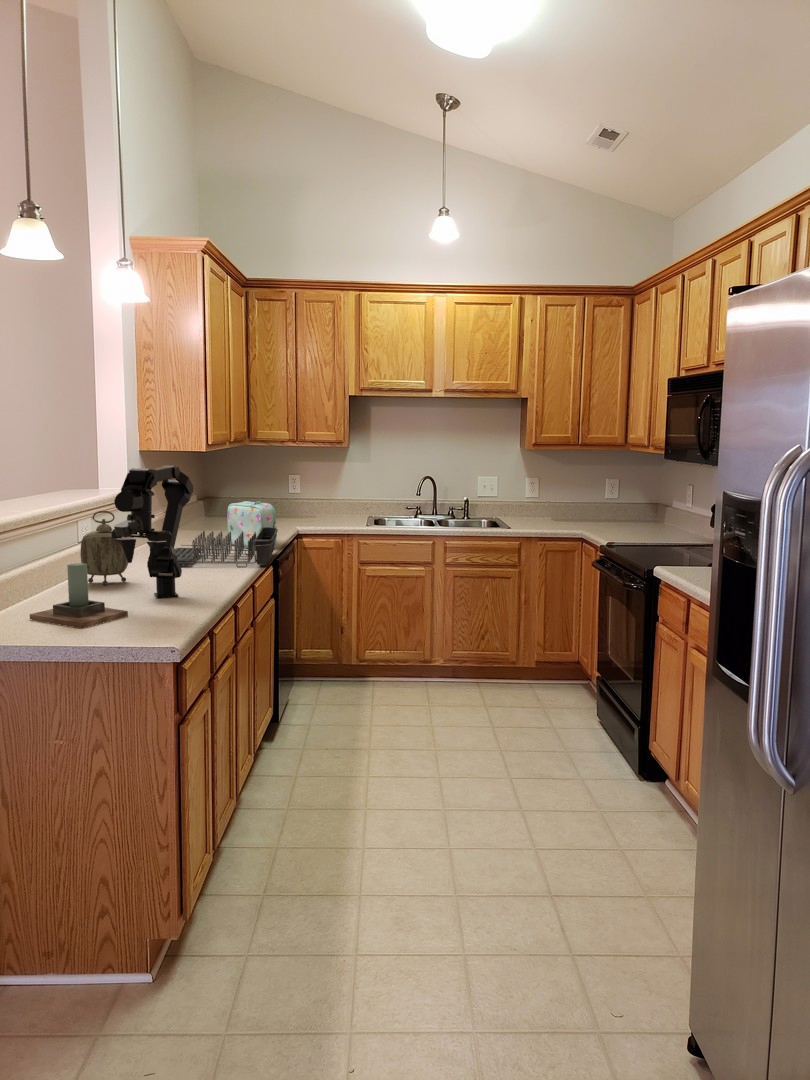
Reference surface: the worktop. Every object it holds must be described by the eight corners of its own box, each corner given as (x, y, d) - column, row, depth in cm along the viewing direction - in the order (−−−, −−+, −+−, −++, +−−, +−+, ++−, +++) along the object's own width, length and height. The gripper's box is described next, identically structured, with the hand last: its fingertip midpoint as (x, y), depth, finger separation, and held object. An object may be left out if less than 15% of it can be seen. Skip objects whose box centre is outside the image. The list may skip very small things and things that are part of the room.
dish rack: (272, 569, 296) (272, 538, 294) (154, 569, 292) (154, 537, 290) (278, 555, 329) (278, 527, 328) (173, 555, 325) (172, 526, 323)
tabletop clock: (130, 581, 267) (127, 509, 264) (126, 586, 258) (124, 512, 255) (85, 582, 264) (82, 509, 260) (80, 587, 255) (77, 512, 252)
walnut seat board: (77, 608, 226) (77, 594, 225) (127, 616, 217) (127, 602, 217) (29, 619, 212) (29, 605, 211) (81, 628, 203) (80, 613, 202)
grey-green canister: (74, 608, 217) (72, 563, 215) (91, 608, 216) (90, 563, 215) (66, 612, 212) (64, 566, 210) (84, 613, 212) (82, 566, 210)
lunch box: (281, 549, 344) (281, 501, 341) (263, 551, 336) (263, 502, 333) (242, 543, 360) (242, 497, 357) (225, 545, 352) (224, 498, 349)
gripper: (96, 510, 223) (96, 563, 224) (143, 512, 215) (143, 568, 216) (126, 509, 233) (126, 561, 234) (172, 512, 225) (172, 565, 226)
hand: (141, 563), depth 227 cm, fingers open, 9 cm apart
